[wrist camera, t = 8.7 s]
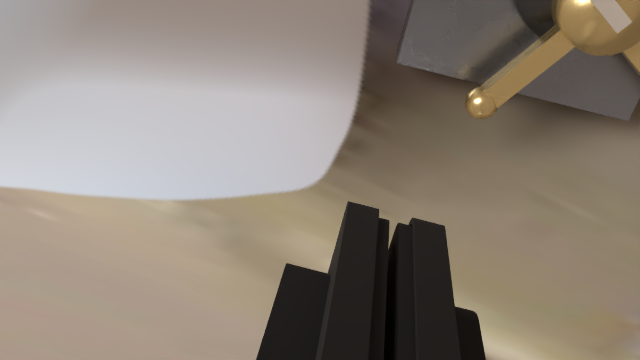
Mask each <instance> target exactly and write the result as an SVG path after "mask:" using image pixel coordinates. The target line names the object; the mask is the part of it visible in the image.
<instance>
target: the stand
mask: <svg viewBox="0 0 640 360" xmlns="http://www.w3.org/2000/svg"><path fill="white" fill-rule="evenodd" d="M539 38H540V37H539V36H538V35H536V34H535V33H534V32H533V31H532V30H531V29H530V28H529V27H528V26H527V25H526V24H525V22H524V21H523V19H522V18H521V16H520V14H519V12H518V10H517V7H516V4H515V0H411V3H410V6H409V10H408V13H407V17H406V20H405V24H404V27H403V31H402V34H401V38H400V41H399V45H398V49H397V62H396V63H399V64H403V65H406V66H410V67H414V68H418V69H422V70H426V71H430V72H434V73H438V74H442V75H446V76H450V77H454V78H458V79H462V80H466V81H470V82H474V83H478V84H484V83H485V82H486V81H487V80H489V79H490V78H491V77H492V76H493V75H495V74H496V73H497V72H498V71H500V70H501V69H502V68H503V67H504V66H506V65H507V64H508V63H509V62H511V61H512V60H513V59H514V58H515V57H517V56H518V55H519V54H520V53H522V52H523V51H524V50H525V49H526V48H528V47H529V46H530V45H531V44H533V43H534V42H535V41H536V40H537V39H539ZM517 93H518V94H522V95H526V96H530V97H534V98H538V99H542V100H546V101H550V102H554V103H558V104H562V105H566V106H570V107H574V108H578V109H582V110H586V111H590V112H594V113H598V114H602V115H606V116H610V117H613V118H617V119H621V120H625V121H629V119H630V117H631V115H632V113H633V111H634V109H635V107H636V105H637V103H638V101H639V99H640V75H639V74H638V73H637V72H636V71H635V69H634V68H633V67H632V66H631V64H630V63H629V62H628V61H627V59H626V58H625V57H624V56H623V55H622V53H618V54H614V55H608V56H595V55H591V54H587V53H585V52H582V51H581V50H579V49H577V48H576V47H574V48H573V49H572V50H571V51H569V52H568V53H567V54H566V55H564V56H563V57H562V58H560V59H559V60H558V61H557V62H555V63H554V64H553V65H552V66H550V67H549V68H548V69H546V70H545V71H544V72H543V73H541V74H540V75H539V76H538V77H536V78H535V79H534V80H532V81H531V82H530V83H529V84H527V85H526V86H525V87H524V88H522V89H521V90H520V91H519V92H517Z"/></svg>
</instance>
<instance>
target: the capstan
mask: <svg viewBox="0 0 640 360" xmlns="http://www.w3.org/2000/svg"><path fill="white" fill-rule="evenodd" d="M515 4H516V7H517V10H518V12H519V14H520V16H521V18H522V19H523V21H524V22H525V24H526V25H527V26H528V27H529V28H530V29H531V30H532V31H533V32H534V33H535V34H536V35H538V36H539V37H540V38H539V39H537V40H536V41H535V42H534V43H533V44H531V45H530V46H529V47H528V48H526V49H525V50H524V51H523V52H522V53H520V54H519V55H518V56H517V57H515V58H514V59H513V60H512V61H511V62H509V63H508V64H507V65H506V66H504V67H503V68H502V69H501V70H500V71H498V72H497V73H496V74H495V75H493V76H492V77H491V78H490V79H489V80H487V81H486V82H485V83H484V84H482V85H481V86H480V87H476V88H474V89H472V90H471V91H470V92H469V93H468V95H467V96H466V99H465V107H466V110H467V112H468V113H469V114H470V115H471V116H472V117H474V118H477V119H485V118H488V117H490V116H492V115H493V114H494V113H495V112H496V110H497V108H498V107H499V106H501V105H502V104H503V103H505V102H506V101H507V100H508V99H510V98H511V97H512V96H513V95H515V94H516V93H517V92H519V91H520V90H521V89H522V88H524V87H525V86H526V85H527V84H529V83H530V82H531V81H532V80H534V79H535V78H536V77H538V76H539V75H540V74H541V73H543V72H544V71H545V70H546V69H548V68H549V67H550V66H552V65H553V64H554V63H555V62H557V61H558V60H559V59H560V58H562V57H563V56H564V55H566V54H567V53H568V52H569V51H571V50H572V49H573V48H574V47H576V48H577V49H579V50H581V51H582V52H585V53H587V54H591V55H595V56H608V55H614V54H618V53H622V55H623V56H624V57H625V58H626V59H627V61H628V62H629V63H630V64H631V66H632V67H633V68H634V69H635V71H636V72H637V73H638V74H639V75H640V0H515Z"/></svg>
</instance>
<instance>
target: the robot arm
mask: <svg viewBox="0 0 640 360" xmlns="http://www.w3.org/2000/svg"><path fill="white" fill-rule="evenodd" d="M388 244H389V220H386V219H382V218H379V209H376V208H372V207H369V206H365V205H361V204H357V203H353V202H349V201H348V203H347V206H346V210H345V213H344V217H343V220H342V224H341V227H340V231H339V235H338V238H337V242H336V246H335V249H334V253H333V256H332V260H331V264H330V267H329V271H328V274H327V273H323V272H319V271H315V270H311V269H307V268H303V267H299V266H295V265H292V264H288V263H287V264H286V266H285V269H284V272H283V275H282V278H281V282H280V285H279V288H278V291H277V294H276V298H275V301H274V304H273V307H272V310H271V314H270V317H269V320H268V323H267V327H266V330H265V333H264V336H263V339H262V343H261V346H260V349H259V352H258V355H257V359H256V360H486V359H485V353H484V347H483V342H482V336H481V330H480V324H479V319H478V316H477V314H476V313H475V312H474V311H471V310H467V309H463V308H459V307H455V305H454V297H453V289H452V280H451V272H450V264H449V256H448V248H447V239H446V231H445V226H443V225H439V224H435V223H431V222H427V221H423V220H420V219H416V218H412V219H411V220H410V222H409V225H405V224H402V223H398V224H397V226H396V229H395V232H394V235H393V238H392V241H391V244H390V247H389V250H388Z"/></svg>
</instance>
